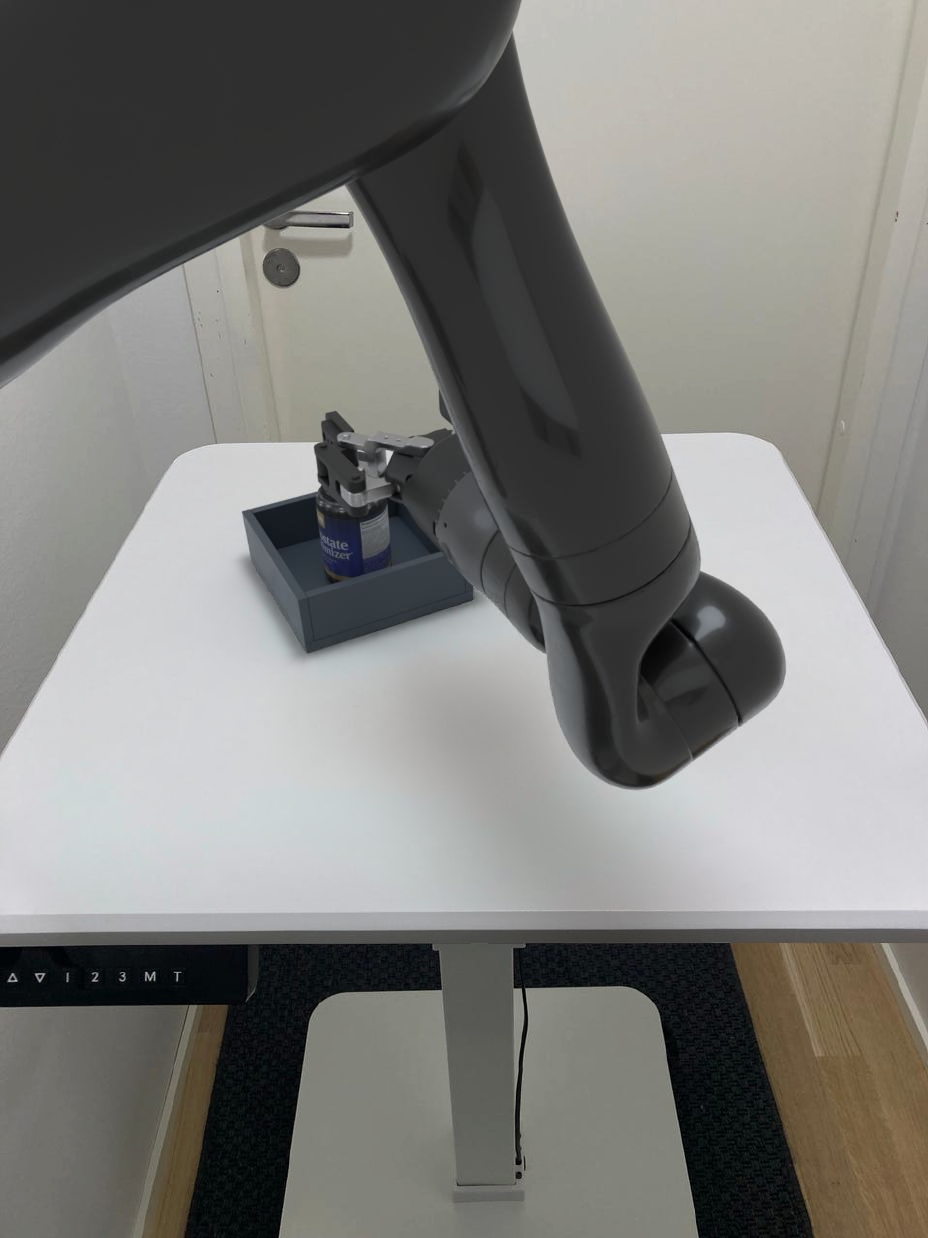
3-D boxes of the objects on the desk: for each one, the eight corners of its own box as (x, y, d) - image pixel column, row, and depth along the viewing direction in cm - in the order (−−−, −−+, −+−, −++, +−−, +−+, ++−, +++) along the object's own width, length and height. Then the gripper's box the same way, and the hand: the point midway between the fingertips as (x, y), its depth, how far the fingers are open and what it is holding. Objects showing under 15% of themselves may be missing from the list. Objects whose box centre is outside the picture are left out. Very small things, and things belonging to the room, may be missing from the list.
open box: (306, 653, 81) (297, 600, 78) (251, 561, 92) (241, 510, 89) (473, 599, 86) (472, 547, 83) (402, 518, 98) (398, 469, 94)
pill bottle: (311, 573, 89) (295, 464, 82) (361, 545, 92) (349, 438, 85) (356, 599, 85) (344, 488, 78) (407, 569, 89) (398, 460, 82)
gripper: (605, 432, 57) (477, 340, 69) (380, 491, 52) (283, 381, 64) (597, 541, 62) (478, 437, 73) (389, 604, 57) (297, 482, 68)
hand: (388, 411), depth 68 cm, fingers open, 8 cm apart
